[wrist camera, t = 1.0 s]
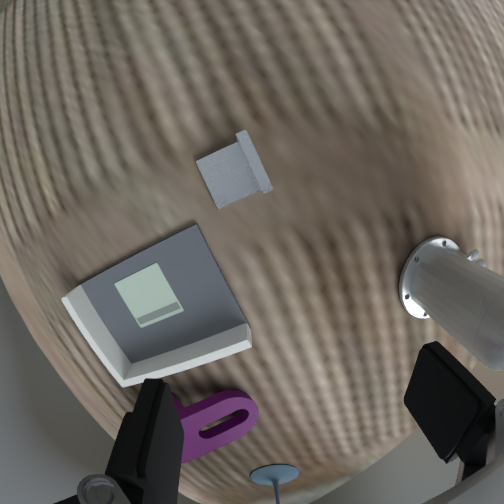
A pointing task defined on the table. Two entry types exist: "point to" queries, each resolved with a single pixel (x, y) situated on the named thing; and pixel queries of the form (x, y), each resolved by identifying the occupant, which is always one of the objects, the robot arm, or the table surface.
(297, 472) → the cocktail glass
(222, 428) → the mounting bracket
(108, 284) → the tray
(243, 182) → the angle bracket
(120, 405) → the table surface
